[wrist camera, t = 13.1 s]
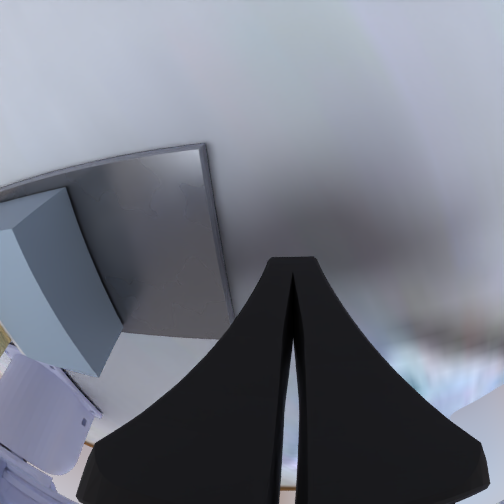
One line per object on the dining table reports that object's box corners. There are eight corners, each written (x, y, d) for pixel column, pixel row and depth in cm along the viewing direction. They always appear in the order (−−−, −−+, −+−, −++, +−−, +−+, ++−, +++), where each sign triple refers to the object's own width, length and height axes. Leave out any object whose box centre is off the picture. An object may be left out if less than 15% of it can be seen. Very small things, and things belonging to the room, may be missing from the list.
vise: (236, 326, 13) (222, 399, 10) (-1, 302, 15) (-28, 338, 12) (205, 143, 9) (159, 187, 6) (-47, 206, 11) (-84, 237, 8)
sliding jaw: (123, 327, 13) (99, 378, 10) (47, 317, 14) (21, 356, 11) (65, 185, 9) (11, 227, 6) (-9, 204, 10) (-50, 238, 7)
